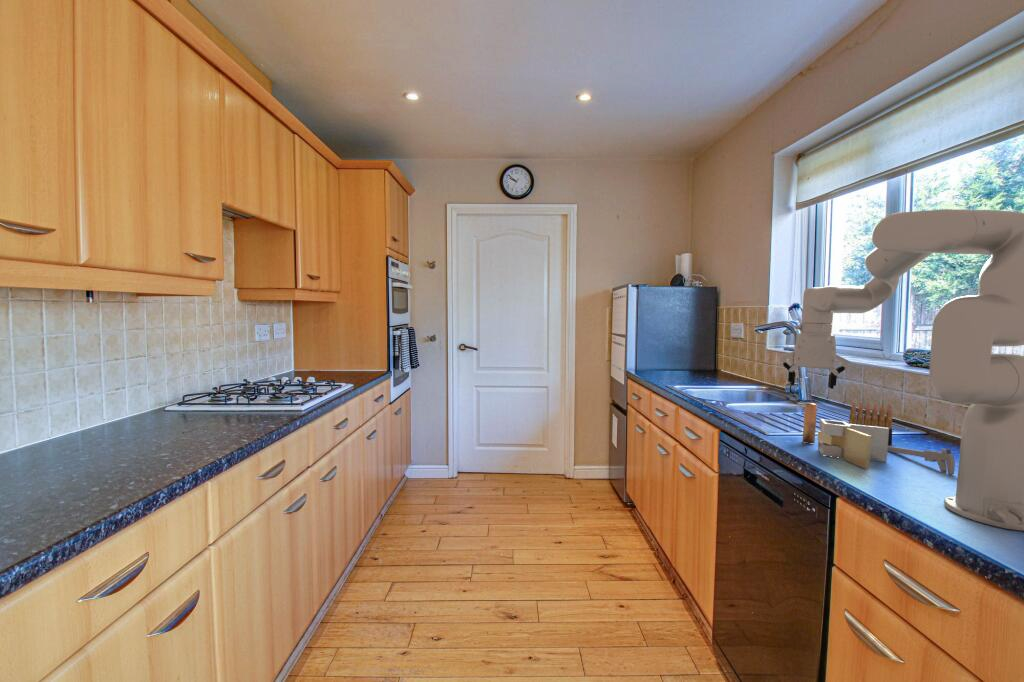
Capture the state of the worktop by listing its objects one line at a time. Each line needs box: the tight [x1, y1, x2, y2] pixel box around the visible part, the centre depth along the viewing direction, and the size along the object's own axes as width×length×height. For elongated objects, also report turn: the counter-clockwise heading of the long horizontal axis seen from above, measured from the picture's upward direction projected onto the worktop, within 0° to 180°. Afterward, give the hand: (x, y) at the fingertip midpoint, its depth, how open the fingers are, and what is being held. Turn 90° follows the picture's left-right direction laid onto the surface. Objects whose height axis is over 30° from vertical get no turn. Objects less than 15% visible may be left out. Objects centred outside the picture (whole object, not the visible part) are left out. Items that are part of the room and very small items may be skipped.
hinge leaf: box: [817, 428, 871, 470], centre depth 114 cm, size 14×5×8 cm, turn 0°
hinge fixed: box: [817, 418, 889, 463], centre depth 116 cm, size 6×14×9 cm, turn 64°
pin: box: [802, 402, 818, 444], centre depth 129 cm, size 3×3×12 cm
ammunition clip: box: [848, 401, 893, 446], centre depth 131 cm, size 11×2×12 cm, turn 68°
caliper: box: [887, 445, 956, 475], centre depth 115 cm, size 20×1×6 cm, turn 178°
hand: (811, 386), depth 129 cm, fingers open, 9 cm apart
